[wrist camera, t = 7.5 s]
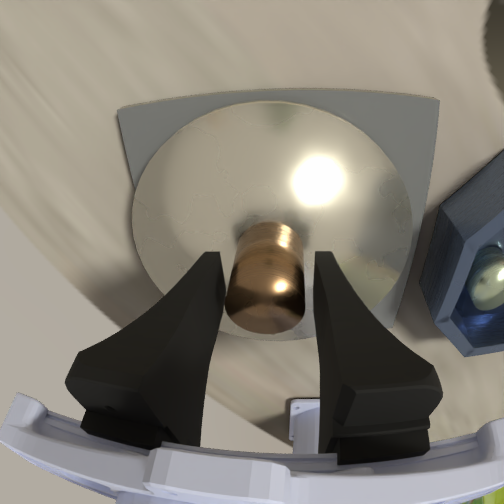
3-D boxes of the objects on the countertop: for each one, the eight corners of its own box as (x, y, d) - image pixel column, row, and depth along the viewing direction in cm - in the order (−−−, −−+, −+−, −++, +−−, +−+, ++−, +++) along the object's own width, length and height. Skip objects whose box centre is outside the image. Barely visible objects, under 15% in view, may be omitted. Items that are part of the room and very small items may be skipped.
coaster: (390, 320, 18) (392, 328, 18) (179, 318, 20) (177, 326, 19) (433, 97, 11) (439, 100, 10) (123, 106, 12) (116, 109, 12)
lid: (382, 323, 18) (395, 389, 14) (174, 322, 19) (154, 384, 16) (420, 101, 10) (477, 135, 7) (112, 118, 12) (49, 157, 8)
